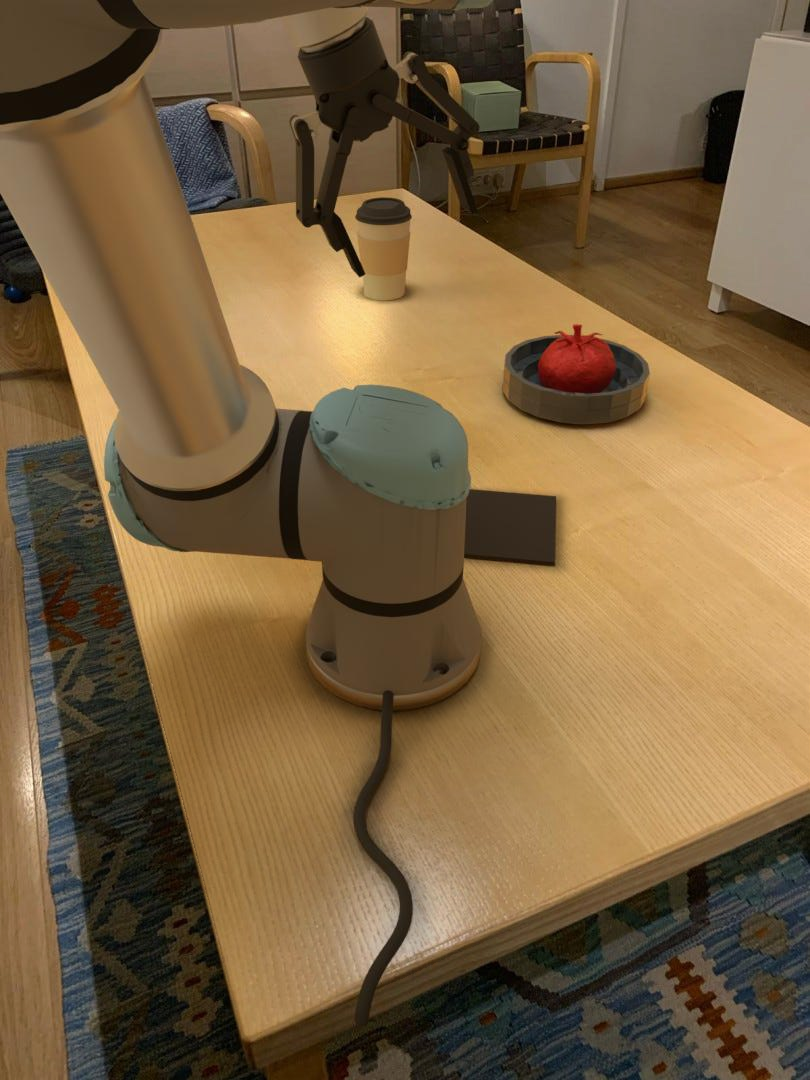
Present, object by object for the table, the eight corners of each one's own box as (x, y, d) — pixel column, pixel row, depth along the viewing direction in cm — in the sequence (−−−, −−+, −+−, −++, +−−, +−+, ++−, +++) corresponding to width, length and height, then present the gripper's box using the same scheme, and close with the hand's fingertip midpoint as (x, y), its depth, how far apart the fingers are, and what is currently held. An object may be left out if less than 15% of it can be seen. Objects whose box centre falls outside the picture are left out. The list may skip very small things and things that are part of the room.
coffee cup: (347, 297, 145) (343, 203, 136) (374, 280, 152) (372, 190, 143) (395, 306, 142) (394, 211, 133) (420, 288, 148) (421, 197, 140)
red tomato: (625, 400, 114) (636, 332, 109) (558, 413, 111) (566, 344, 106) (585, 369, 122) (594, 304, 116) (522, 381, 119) (528, 315, 113)
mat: (554, 566, 87) (555, 562, 87) (434, 555, 88) (434, 551, 88) (555, 499, 96) (556, 496, 96) (447, 490, 98) (447, 487, 98)
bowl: (648, 433, 108) (654, 400, 106) (498, 422, 111) (501, 390, 108) (638, 369, 123) (643, 339, 121) (506, 360, 125) (508, 331, 123)
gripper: (436, -37, 82) (500, 174, 96) (204, 91, 81) (303, 285, 96) (469, -30, 76) (531, 193, 91) (219, 108, 76) (322, 311, 90)
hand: (414, 240), depth 93 cm, fingers open, 13 cm apart
